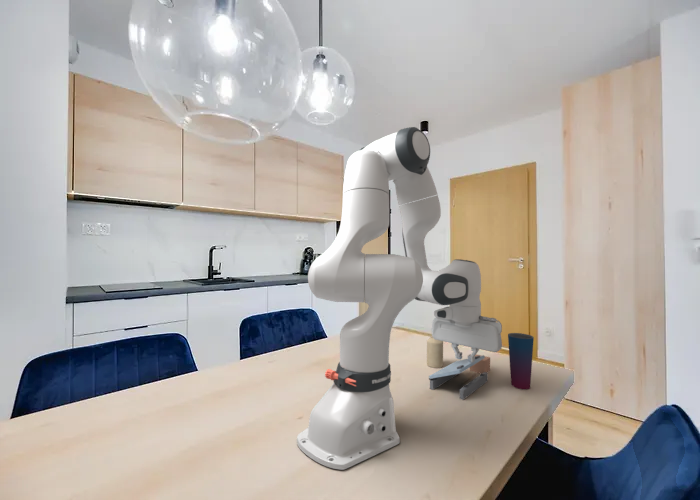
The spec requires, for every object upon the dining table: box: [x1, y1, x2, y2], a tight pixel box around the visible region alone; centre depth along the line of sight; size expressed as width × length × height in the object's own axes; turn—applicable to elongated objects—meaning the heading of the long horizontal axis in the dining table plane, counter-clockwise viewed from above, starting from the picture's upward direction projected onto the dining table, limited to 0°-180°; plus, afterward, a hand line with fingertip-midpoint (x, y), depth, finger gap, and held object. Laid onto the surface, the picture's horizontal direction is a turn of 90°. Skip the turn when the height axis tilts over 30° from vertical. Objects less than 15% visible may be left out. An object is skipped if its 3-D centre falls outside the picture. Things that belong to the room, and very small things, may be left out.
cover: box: [428, 354, 485, 381], centre depth 96 cm, size 18×10×2 cm, turn 137°
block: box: [469, 354, 491, 374], centre depth 108 cm, size 5×5×4 cm
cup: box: [507, 332, 535, 390], centre depth 95 cm, size 7×7×15 cm
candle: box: [426, 336, 444, 369], centre depth 112 cm, size 6×6×10 cm
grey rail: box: [429, 372, 489, 401], centre depth 95 cm, size 18×10×3 cm, turn 137°
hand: (464, 360), depth 95 cm, fingers open, 2 cm apart
